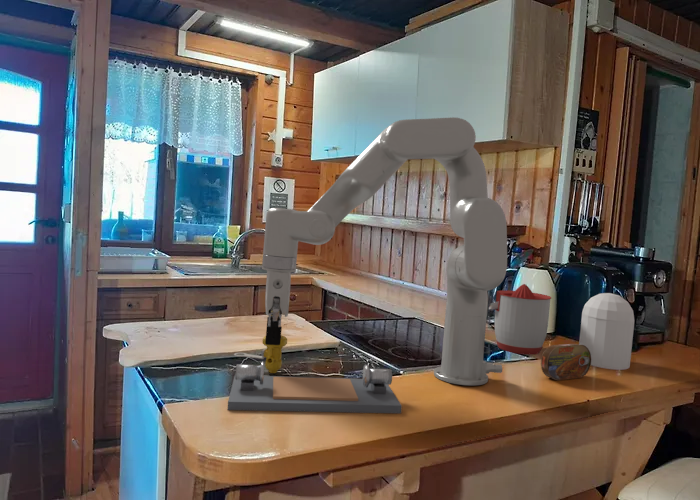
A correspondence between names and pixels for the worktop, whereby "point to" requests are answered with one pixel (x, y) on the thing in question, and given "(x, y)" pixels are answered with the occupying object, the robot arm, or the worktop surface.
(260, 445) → the worktop surface
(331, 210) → the robot arm
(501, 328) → the citrus juicer
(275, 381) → the pipe rig base
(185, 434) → the worktop surface
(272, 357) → the pressure relief valve
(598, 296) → the container
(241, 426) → the worktop surface
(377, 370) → the pipe stubs
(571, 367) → the tin
